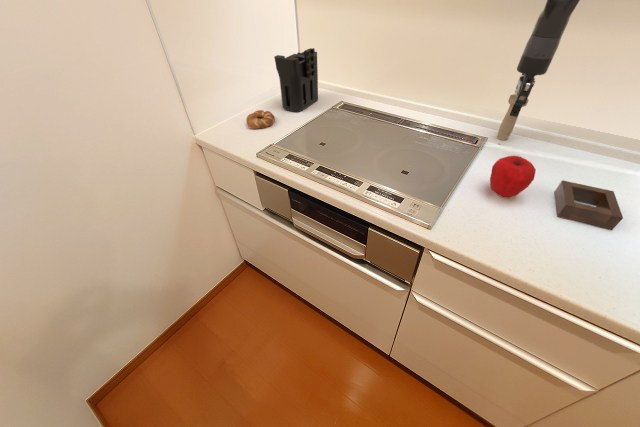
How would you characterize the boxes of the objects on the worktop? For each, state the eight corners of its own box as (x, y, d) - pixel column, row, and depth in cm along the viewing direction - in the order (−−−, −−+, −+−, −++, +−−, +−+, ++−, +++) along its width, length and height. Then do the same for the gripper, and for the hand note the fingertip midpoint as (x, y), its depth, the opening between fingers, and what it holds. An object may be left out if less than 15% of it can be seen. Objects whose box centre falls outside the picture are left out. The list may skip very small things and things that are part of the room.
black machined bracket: (279, 109, 125) (272, 52, 110) (305, 93, 138) (302, 40, 123) (302, 115, 120) (298, 56, 106) (327, 98, 133) (327, 43, 119)
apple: (484, 179, 85) (499, 145, 78) (522, 187, 82) (541, 153, 74) (481, 198, 79) (496, 164, 72) (521, 209, 75) (542, 173, 68)
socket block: (603, 203, 76) (613, 191, 74) (612, 230, 69) (623, 218, 66) (554, 192, 80) (561, 180, 78) (557, 216, 73) (565, 204, 70)
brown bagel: (259, 133, 110) (258, 123, 107) (239, 125, 115) (237, 116, 112) (281, 121, 117) (280, 112, 114) (261, 114, 122) (260, 105, 119)
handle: (495, 146, 99) (514, 102, 89) (490, 137, 103) (507, 94, 93) (510, 147, 98) (531, 102, 88) (504, 138, 103) (523, 94, 93)
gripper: (555, 62, 76) (527, 122, 87) (552, 49, 86) (526, 104, 97) (523, 59, 79) (499, 117, 90) (523, 46, 88) (501, 101, 99)
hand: (513, 110), depth 93 cm, fingers open, 7 cm apart
